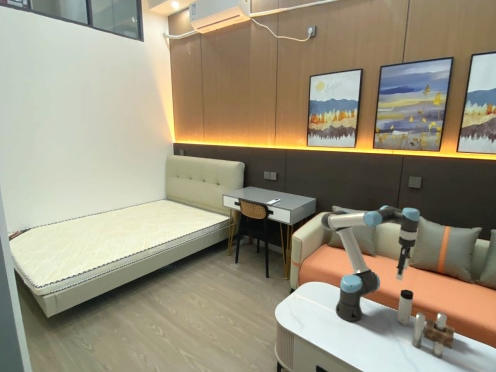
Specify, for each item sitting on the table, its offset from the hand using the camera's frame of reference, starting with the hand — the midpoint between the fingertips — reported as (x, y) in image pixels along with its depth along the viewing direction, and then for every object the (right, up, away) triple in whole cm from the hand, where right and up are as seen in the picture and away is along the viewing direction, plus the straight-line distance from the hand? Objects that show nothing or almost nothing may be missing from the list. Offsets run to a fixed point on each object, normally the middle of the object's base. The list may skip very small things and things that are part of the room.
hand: (401, 274), depth 142 cm
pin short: (+12, -37, -10) cm, 40 cm away
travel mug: (+8, -32, +12) cm, 36 cm away
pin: (+20, -35, +1) cm, 40 cm away
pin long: (+5, -36, -4) cm, 36 cm away
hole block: (+20, -35, +1) cm, 40 cm away
